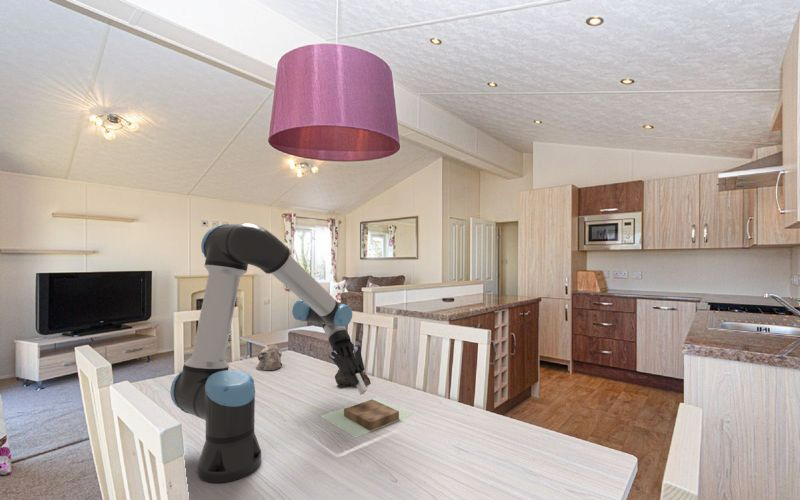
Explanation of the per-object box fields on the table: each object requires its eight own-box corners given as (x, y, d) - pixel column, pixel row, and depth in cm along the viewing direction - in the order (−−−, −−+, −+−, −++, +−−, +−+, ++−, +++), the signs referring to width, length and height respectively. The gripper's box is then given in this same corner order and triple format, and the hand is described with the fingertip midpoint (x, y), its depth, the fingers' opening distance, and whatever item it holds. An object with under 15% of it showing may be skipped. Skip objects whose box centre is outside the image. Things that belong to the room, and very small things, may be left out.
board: (344, 416, 129) (370, 430, 118) (344, 408, 129) (370, 422, 118) (372, 406, 137) (398, 419, 127) (372, 399, 137) (398, 411, 127)
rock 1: (286, 369, 182) (286, 348, 182) (259, 373, 176) (259, 351, 176) (277, 361, 195) (277, 341, 195) (252, 365, 188) (252, 344, 188)
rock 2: (365, 393, 154) (374, 385, 164) (366, 372, 154) (375, 365, 163) (332, 386, 158) (343, 379, 168) (334, 366, 158) (344, 359, 168)
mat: (355, 440, 114) (355, 437, 114) (319, 418, 129) (319, 416, 129) (412, 416, 130) (412, 414, 130) (375, 399, 145) (375, 397, 145)
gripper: (347, 338, 150) (374, 393, 138) (318, 343, 141) (343, 402, 129) (355, 326, 146) (383, 382, 134) (326, 331, 137) (352, 391, 125)
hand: (363, 392), depth 132 cm, fingers closed
